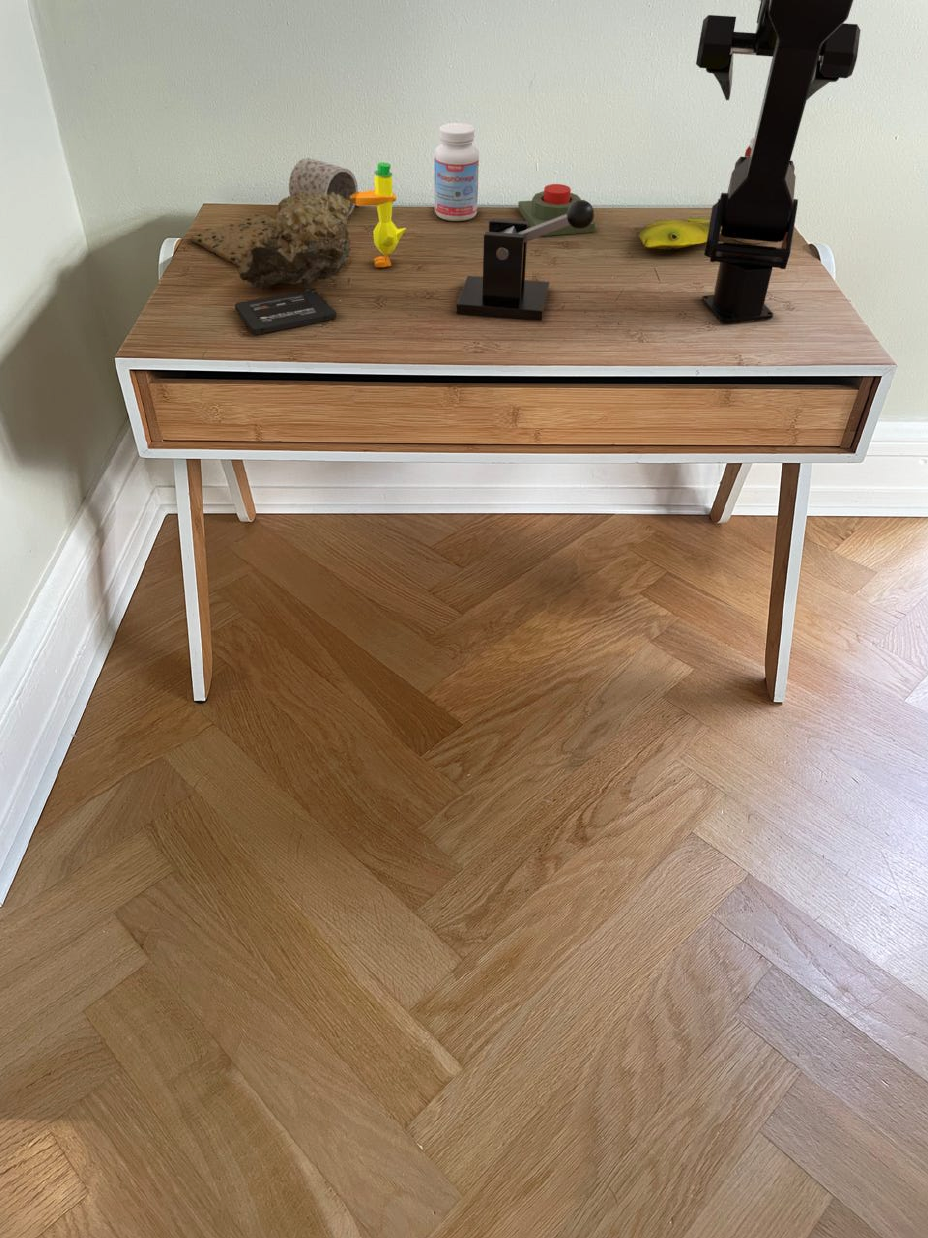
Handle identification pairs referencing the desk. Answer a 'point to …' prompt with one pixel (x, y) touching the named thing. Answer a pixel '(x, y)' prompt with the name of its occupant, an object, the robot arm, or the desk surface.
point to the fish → (675, 233)
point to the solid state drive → (284, 311)
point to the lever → (560, 221)
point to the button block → (549, 213)
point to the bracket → (504, 278)
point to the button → (557, 194)
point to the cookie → (233, 236)
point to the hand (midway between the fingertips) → (763, 99)
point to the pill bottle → (456, 173)
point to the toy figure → (381, 213)
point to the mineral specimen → (299, 242)
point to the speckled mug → (322, 180)
